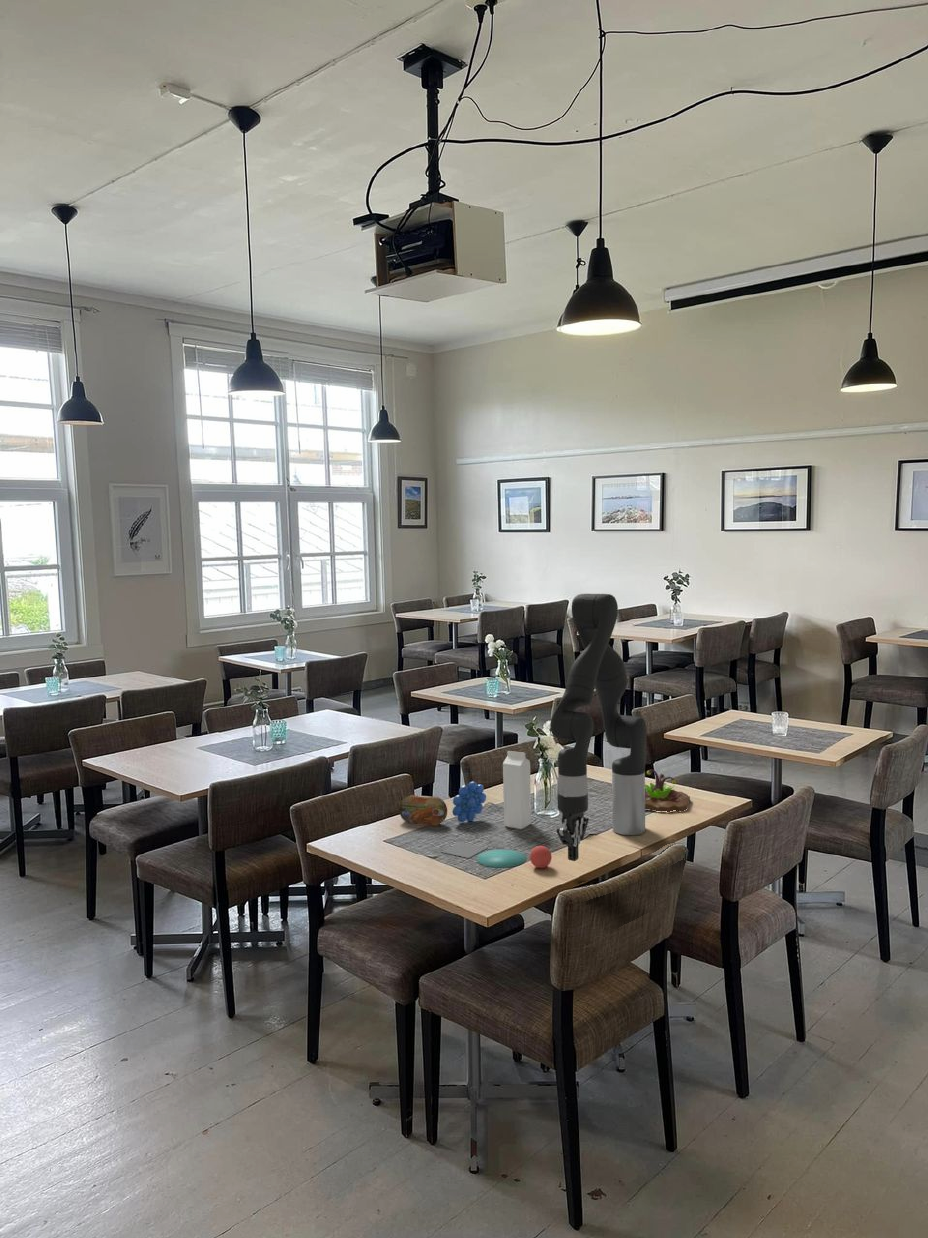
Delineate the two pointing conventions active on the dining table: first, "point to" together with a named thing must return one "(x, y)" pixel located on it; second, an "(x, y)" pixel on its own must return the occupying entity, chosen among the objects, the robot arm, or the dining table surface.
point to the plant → (664, 796)
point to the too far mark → (464, 850)
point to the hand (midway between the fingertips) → (573, 859)
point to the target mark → (501, 858)
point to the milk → (516, 790)
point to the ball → (540, 857)
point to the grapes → (469, 802)
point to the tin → (423, 810)
